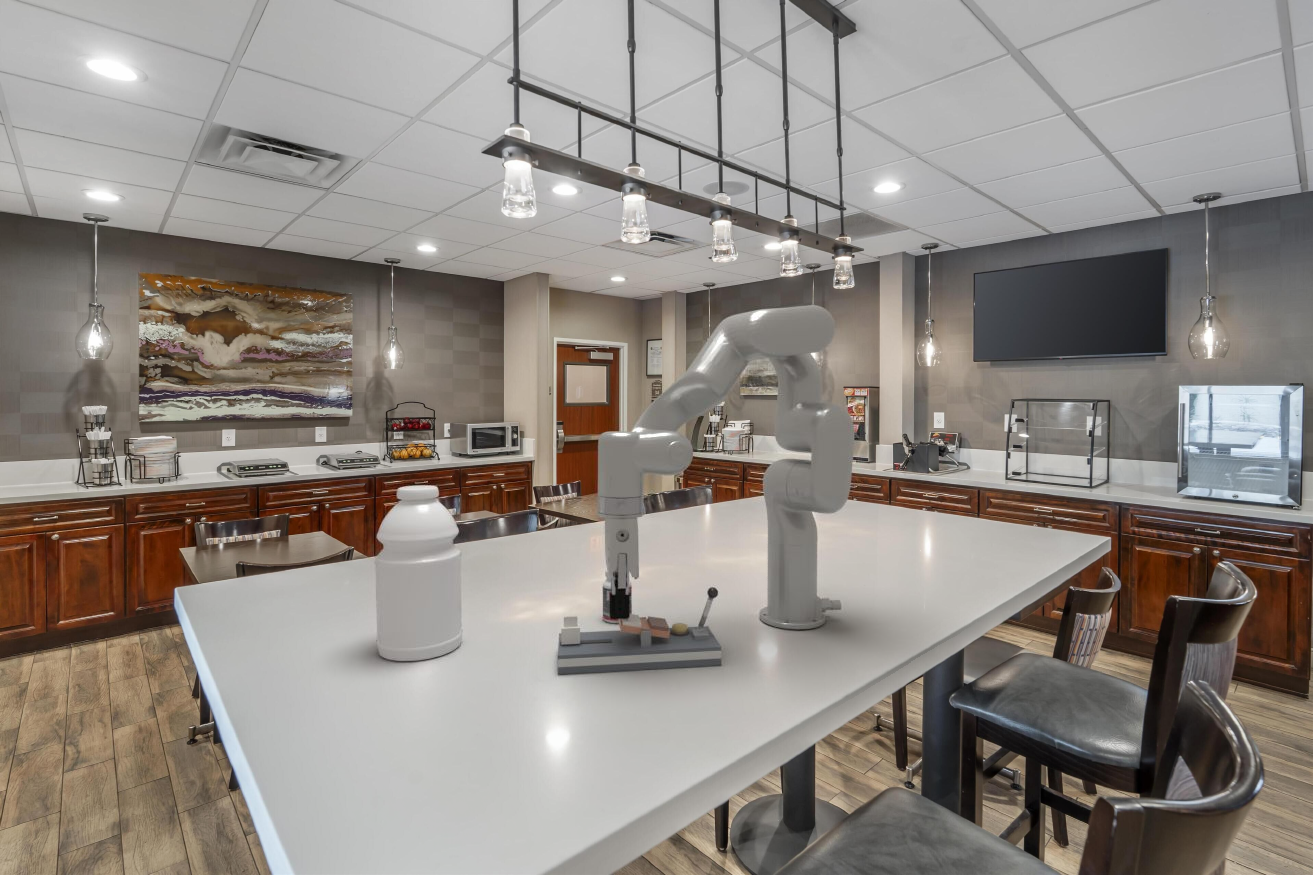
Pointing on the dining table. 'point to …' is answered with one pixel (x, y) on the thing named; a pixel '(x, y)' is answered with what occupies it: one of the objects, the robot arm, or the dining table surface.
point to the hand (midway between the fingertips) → (619, 617)
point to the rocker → (645, 625)
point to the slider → (570, 630)
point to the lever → (707, 606)
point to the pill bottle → (607, 599)
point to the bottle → (418, 578)
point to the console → (639, 650)
